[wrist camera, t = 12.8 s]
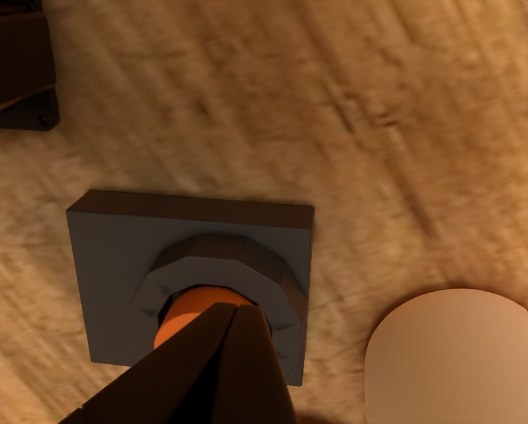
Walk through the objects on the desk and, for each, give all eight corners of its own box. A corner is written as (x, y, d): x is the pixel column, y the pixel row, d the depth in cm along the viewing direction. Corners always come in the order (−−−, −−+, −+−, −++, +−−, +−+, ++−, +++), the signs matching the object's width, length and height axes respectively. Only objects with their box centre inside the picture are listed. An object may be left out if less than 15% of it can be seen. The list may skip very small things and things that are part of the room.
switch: (171, 361, 21) (157, 392, 20) (164, 280, 19) (149, 307, 18) (265, 371, 21) (258, 404, 19) (267, 290, 19) (260, 319, 17)
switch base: (109, 333, 26) (72, 391, 22) (89, 189, 22) (41, 229, 19) (304, 354, 25) (298, 419, 21) (315, 205, 21) (309, 253, 18)
